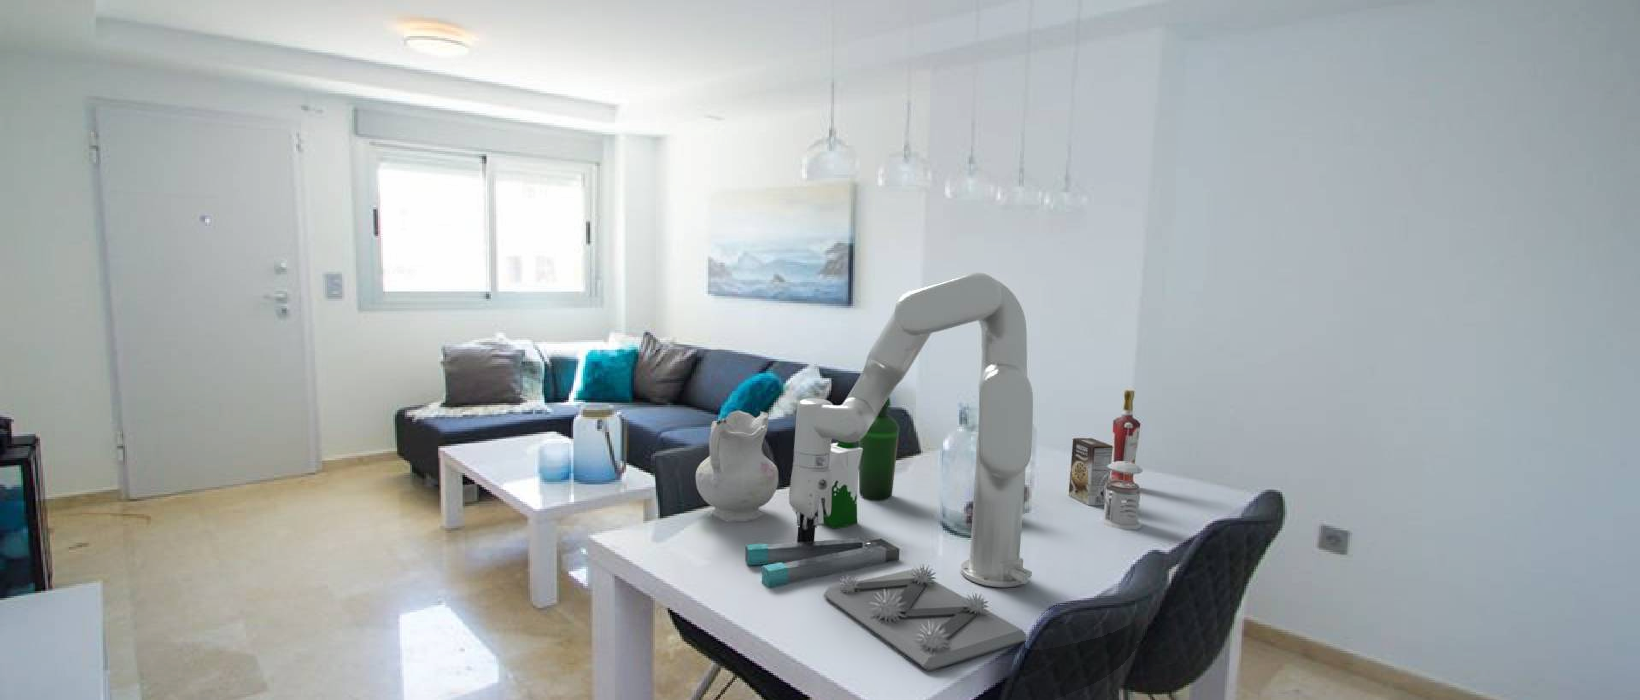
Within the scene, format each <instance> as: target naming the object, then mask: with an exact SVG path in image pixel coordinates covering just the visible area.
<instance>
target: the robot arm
mask: <svg viewBox="0 0 1640 700" xmlns="http://www.w3.org/2000/svg"><path fill="white" fill-rule="evenodd" d="M977 321H978V323H979V325H980V330H981V331H980V332H981V364H980V365H981V368H980V379H979V383H978V433H977V436H976V443H975V444H976V446H975V473H974V488H973V501H972V515H971V516H972V518H971V519H972V521H971V534H970V535H971V536H970V550H969V558H968V559H967V560H965V561H963V562H962V563H961V566H960V567H961V568H960V572H961V575H963V576H964V578H966V579H968V580H969V581H971V582H974V583H976V584H980V585H983V586H987V587H991V588H992V587H993V588H1014V587H1018V586H1020V585H1026V584H1027V583H1028V582H1029V579H1030V578H1031V577H1032V575H1033V572H1032V571H1031V570H1029V569H1027V568H1024V558H1022V557H1020V555H1021V554H1020V553H1021V540H1022V539H1021V538H1022V527H1023V526H1022V525H1023V524H1022V523H1023V511H1024V499H1025V488H1026V487H1025V486H1026V485H1025V484H1026V482H1025V481H1026V469H1027V467H1028V465H1029V463H1030V461H1031V457H1032V447H1033V446H1032V445H1033V444H1032V443H1033V419H1034V417H1033V416H1034V414H1033V413H1034V408H1033V407H1034V394H1033V393H1034V392H1033V387H1032V384H1031V382H1030V379H1029V377H1028V345H1027V344H1028V343H1027V342H1028V338H1027V336H1028V333H1027V331H1028V330H1027V321H1026V316H1025V313H1024V310H1023V308H1022V305H1021V303H1020V302H1019V300H1018V297H1016V295H1015V294H1014V293H1013V292H1012V291H1011V290H1010V288H1009V287H1007V286H1006V285H1005V284H1003V283H1002V282H1000V281H999V280H997V279H996V278H994V277H992V276H991V275H989V274H986V273H983V272H972V273H969V274H966V275H963V276H960V277H958V278H953V279H951V280H947V281H944V282H941V283H938V284H937V283H936V284H934V285H931V286H927V287H923V288H918V289H913V290H910V291H907V292H906V293H904V294H903V295H901V296H900V298H899V299H898V300H897V302H896V304H895V307H894V311H893V312H892V314H891V315H890V317H889V319H888V321H887V323H885V326H884V327H883V329H882V331H881V332H880V334H879V336H878V337H877V339H876V340H875V342H874V343H873V344H872V347H871V348H870V350H869V351H868V355H867V357H866V361H865V365H864V366H863V369H862V371H861V373H860V375H859V377H858V378H857V380H856V382H855V383H854V385H853V387H852V389H851V390H850V391H849V394H848V395H847V397H846V398H845V400H844V401H843V402H842V404H840V405H834V404H833V403H832V402H831V401H829V400H826V399H824V398H817V397H816V398H813V397H811V398H803V399H801V400H800V401H798V403H797V407H796V415H795V417H796V418H795V433H794V444H793V447H794V448H793V457H792V458H793V461H792V469H791V477H790V481H789V482H790V483H789V491H788V492H789V493H788V494H789V495H788V500H789V501H788V503H789V505H790V507H791V508H792V511H793V512H794V514H795V515H796V525H797V537H796V542H810V541H815V535H816V534H815V533H816V529H817V527H818V526H824V520H823V515H824V516H826V517H829V516H830V514H831V502H832V482H831V472H830V469H829V468H830V455H831V444H832V440H836V441H837V442H838V441H842V442H847V443H853V442H855V443H856V442H859V440H861V439H862V438H863V437H864V436H865V435H866V433H867V431H868V430H869V428H870V427H871V425H872V424H873V422H874V420H875V419H876V417H877V415H878V414H879V412H880V410H881V409H882V407H883V406H884V404H885V402H886V401H887V399H888V398H889V397H890V396H891V394H892V393H893V391H894V390H895V388H896V386H897V385H899V383H901V381H902V380H903V379H904V378H905V376H906V375H907V373H908V371H909V370H910V369H911V367H912V365H913V364H914V362H915V360H916V359H917V357H918V356H919V354H920V352H921V351H922V349H923V347H924V346H925V344H926V343H927V341H928V339H929V338H930V336H931V335H932V334H933V333H937V332H940V331H944V330H948V329H952V328H955V327H959V326H962V325H967V324H969V323H970V324H971V323H974V322H977Z"/></svg>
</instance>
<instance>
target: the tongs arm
mask: <svg viewBox="0 0 1640 700" xmlns="http://www.w3.org/2000/svg"><path fill="white" fill-rule="evenodd" d="M863 546H864V547H868V548H872V547H877V543H876V542H874V541H871V540H866V541H865V542H863V540H862V539H860V537H857V538H856V537H855V538H840V539H827V540H814V541H810V542H797V541H796V542H784V543H782V542H781V543H771V544H766V543H765V542H764V543H752V544H745V554H744V555H745V557H744V558H745V559H744V561H745V563H746V564H747V566H758V565H761V566H762V565H769V564H774V563H780V562H781V563H787V562H792V561H797V560H802V559H808V558H813V557H818V556H823V555H828V554H833V553H838V552H843V551H849V550H854V549H859V548H864V547H863Z"/></svg>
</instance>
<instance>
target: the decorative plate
mask: <svg viewBox="0 0 1640 700" xmlns="http://www.w3.org/2000/svg"><path fill="white" fill-rule="evenodd" d="M929 567H930V564H928V565H927V566H926V568H925V565H924V563H922V566H921V564H919V569H918V567H917V566H916V565H914V568H913V567H912V569H909V570H905V571H899V572H895V573H890V574H885V575H881V576H877V577H871V578H868V579H863V580H859V581H858V579H859V578H855V577H856V574H854V576H853V577H852V578H851V575H846V578H845V577H844V576H843V575H842V577H841V578H840V581H837V584H839V585H835V586H831V587H828V588H827V589H826V590H825V592H824V593H823V596H824V597H825V598H826V599H827V600H828V601H830V602H831V603H833V604H834V605H836V606H837V607H838V608H839V609H841V610H842V611H844V612H845V613H847V614H848V615H850V616H851V617H852V618H853V619H855V620H857V622H859V623H861V624H862V625H864V627H865V628H867V629H869V630H870V631H872V632H873V633H874V634H876V635H877V636H878V637H880V638H881V639H883V640H884V641H885V642H887V643H888V644H890V645H891V646H892V647H894V648H895V649H897V650H898V651H900V652H901V653H903V654H904V656H906V657H907V658H909V659H910V660H912V661H913V662H914V663H916V664H917V665H919V666H920V667H922V668H923V669H924V670H926V671H927V672H931V671H934V670H937V669H941V668H944V667H947V666H950V665H953V664H957V663H960V662H962V661H966V660H969V659H973V658H975V657H979V656H981V655H985V654H988V653H991V652H996V651H998V650H1002V649H1005V648H1008V647H1010V646H1014V645H1018V644H1020V643H1023V642H1024V641H1026V640H1027V634H1026V633H1025V631H1024V630H1023V629H1022V628H1019V627H1018V626H1016V625H1015V624H1013V623H1010V622H1009V621H1008V620H1005V619H1004V618H1001V617H1000V616H998V615H997V614H994V613H993V612H991V611H989V610H988V609H986V608H989V606H988V605H985V604H987V603H988V602H989V601H988V600H986V601H985V598H986V597H984V596H983V597H982V593H980V594H979V596H978V594H977V593H976V592H974V593H973V591H972V597H971V596H970V595H969V594H967V596H962V595H960V594H958V593H957V592H955V591H954V590H952V589H950V588H948V587H946V586H944V585H942V584H941V583H939V582H938V581H935V579H937V577H933V576H934V575H936V574H937V572H932V571H933V568H930V569H929ZM854 579H855V580H854ZM981 597H982V598H981ZM1025 639H1026V640H1025Z"/></svg>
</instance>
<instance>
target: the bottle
mask: <svg viewBox="0 0 1640 700" xmlns="http://www.w3.org/2000/svg"><path fill="white" fill-rule="evenodd" d="M890 406H891V399H890V396H889V398H888V399H887V401H886V402H885V404H884V406H883V407H882V409H881V410H880V412H879V414H878V415H877V417H876V419H875V420H874V422H873V424H872V425H871V427H870V428H869V430H868V431H867V433H866V435H865V436H864V437H863V438H862V439H861V440H859V441H858V447H859V448H862V449H863V451H862V455H861V459H860V463H859V470H858V489H859V490H858V493H859V494H860V496H861V497H862V498H865V499H868V500H874V501H884V500H887V499H889V498H890V499H891V497H892V495H893V491H894V490H893V489H894V478H895V472H896V471H895V470H896V461H897V451H898V444H899V436H900V435H899V434H900V425H899V424H898V422H897V420H896V419H894V418H893V417H892V416H890V415H889V414H888V411H889V407H890Z"/></svg>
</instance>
